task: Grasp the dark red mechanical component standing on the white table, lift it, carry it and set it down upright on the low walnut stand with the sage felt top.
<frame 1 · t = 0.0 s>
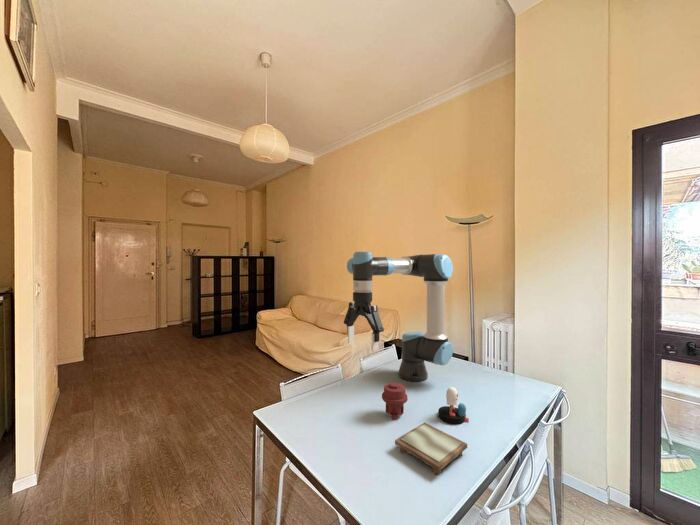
hand: (362, 346, 112), 28 cm above the table, fingers open, 13 cm apart
stand: (430, 452, 92), on the table
mechanical component: (394, 416, 114), on the table
figurine: (453, 419, 112), on the table
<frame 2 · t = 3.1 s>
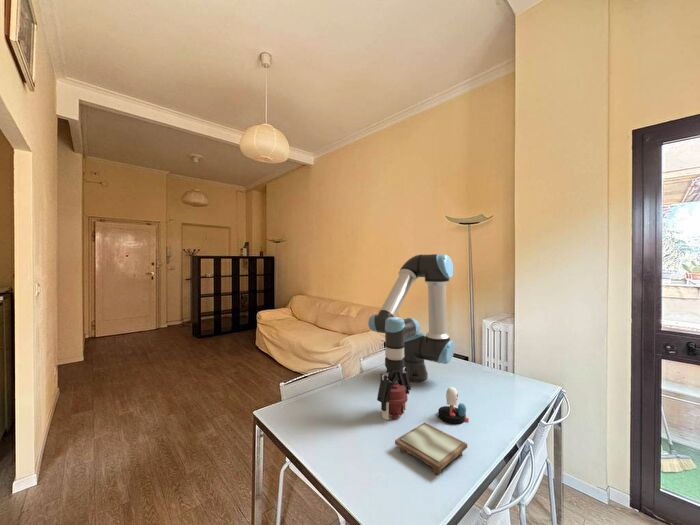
hand: (394, 413, 114), 1 cm above the table, fingers closed on mechanical component, 10 cm apart
mechanical component: (394, 416, 114), on the table, touching gripper
everything else where it was.
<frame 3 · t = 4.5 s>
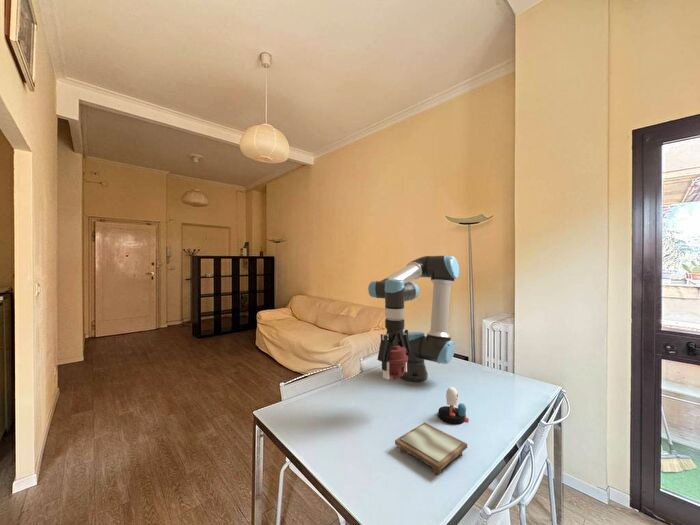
hand: (395, 374, 114), 16 cm above the table, fingers closed on mechanical component, 10 cm apart
mechanical component: (395, 377, 114), point 15 cm above the table, touching gripper
everything else where it was.
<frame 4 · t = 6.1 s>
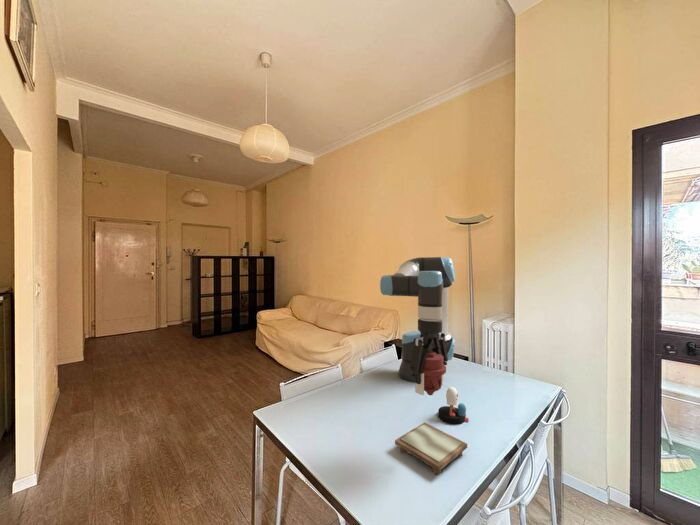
hand: (429, 388, 92), 20 cm above the table, fingers closed on mechanical component, 10 cm apart
mechanical component: (429, 391, 92), point 19 cm above the table, touching gripper
everything else where it was.
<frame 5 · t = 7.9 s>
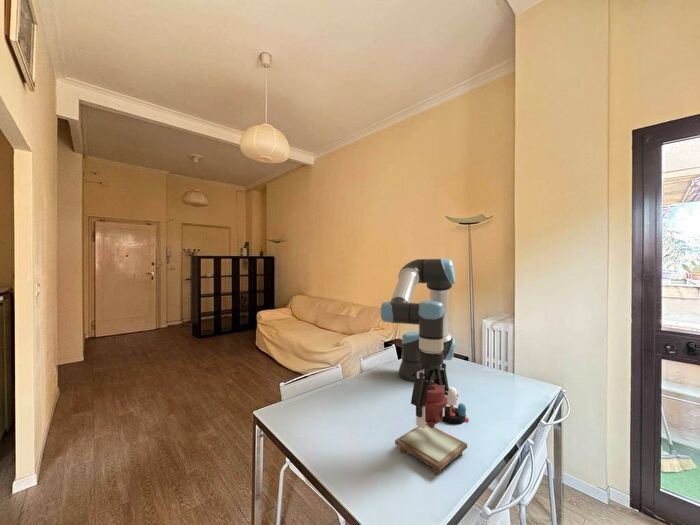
hand: (430, 420, 92), 10 cm above the table, fingers closed on mechanical component, 10 cm apart
mechanical component: (430, 423, 92), point 9 cm above the table, touching gripper
everything else where it was.
when the fingers open (5 cm above the table, at t = 9.4 s): mechanical component stays where it is, resting on stand.
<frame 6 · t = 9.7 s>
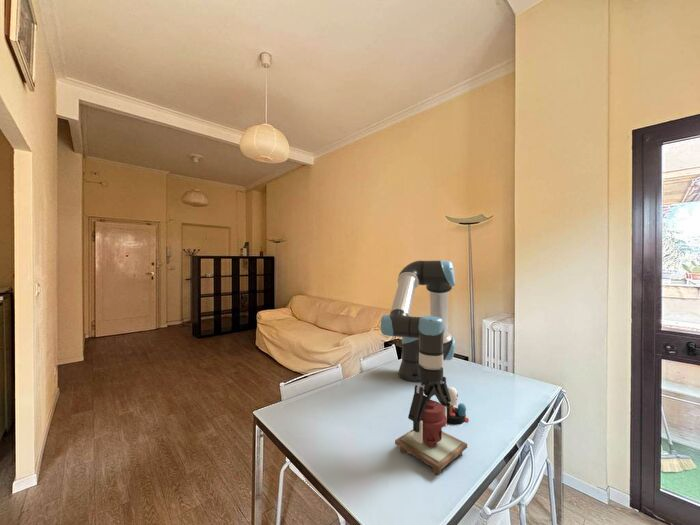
hand: (430, 432, 92), 6 cm above the table, fingers open, 13 cm apart
mechanical component: (430, 441, 92), point 3 cm above the table, touching stand
everything else where it was.
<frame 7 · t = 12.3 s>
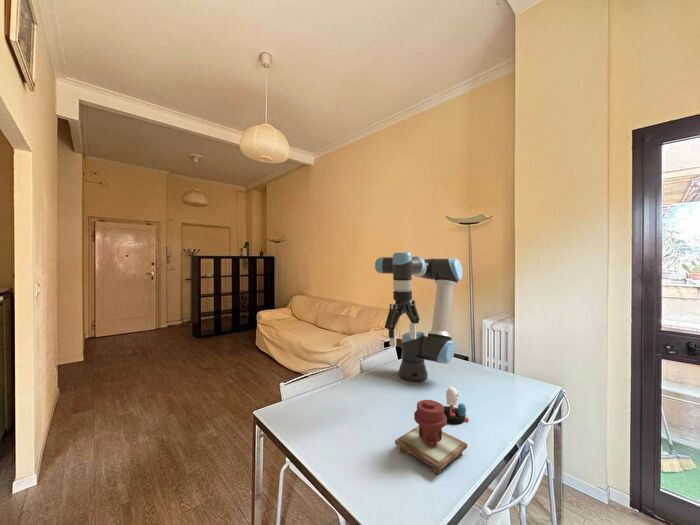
hand: (403, 342, 118), 28 cm above the table, fingers open, 13 cm apart
nothing on the table moved.
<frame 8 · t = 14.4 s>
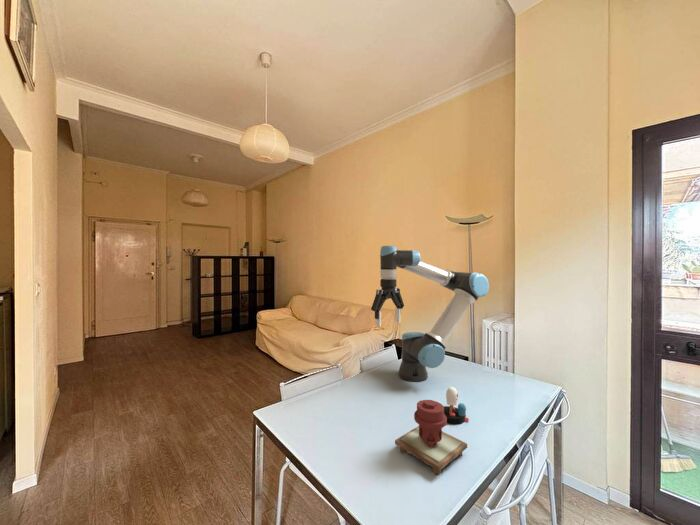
hand: (388, 323, 135), 32 cm above the table, fingers open, 13 cm apart
nothing on the table moved.
at the end: mechanical component inside the target area on the stand (0.2 cm from its centre), point 3.3 cm above the stand's base; mechanical component tilted 0°; the gripper is holding nothing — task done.
